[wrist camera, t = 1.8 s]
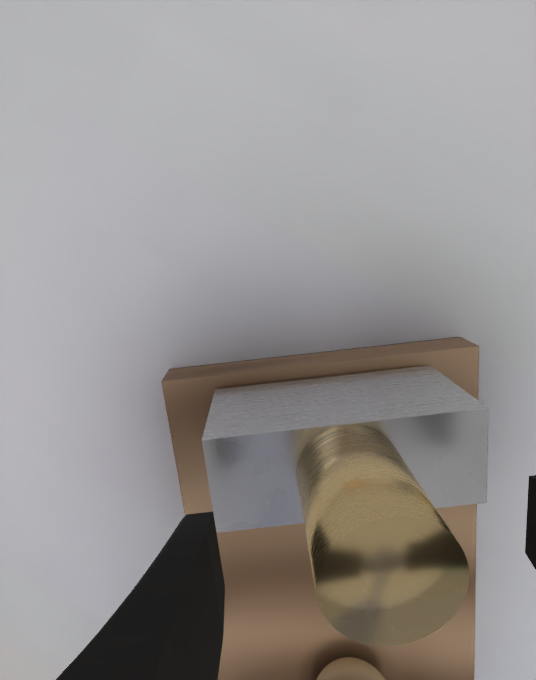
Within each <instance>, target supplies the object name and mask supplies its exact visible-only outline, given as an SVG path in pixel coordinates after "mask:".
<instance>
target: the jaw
mask: <svg viewBox="0 0 536 680" xmlns="http://www.w3.org/2000/svg"><path fill="white" fill-rule="evenodd" d="M202 445H203V452H204V458H205V464H206V470H207V477H208V483H209V489H210V496H211V502H212V508H213V514H214V520H215V526H216V533H220V532H229V531H237V530H246V529H255V528H264V527H273V526H282V525H291V524H300V523H304V526H305V532H306V538H307V544H308V550H309V556H310V562H311V568H312V573H313V579H314V585H315V591H316V597H317V602H318V605H319V608H320V610H321V612H322V614H323V616H324V617H325V618H326V620H327V621H328V622H329V623H330V624H331V625H332V626H333V627H334V628H335V629H336V630H337V631H338V632H340V633H341V634H343V635H344V636H346V637H348V638H350V639H352V640H355V641H357V642H361V643H364V644H369V645H375V646H395V645H401V644H406V643H410V642H414V641H416V640H419V639H421V638H424V637H426V636H428V635H430V634H432V633H433V632H435V631H436V630H438V629H439V628H441V627H442V626H443V625H444V624H446V623H447V622H448V621H449V620H450V619H451V618H452V617H453V616H454V614H455V613H456V612H457V610H458V609H459V607H460V606H461V604H462V602H463V600H464V598H465V595H466V593H467V589H468V585H469V566H468V561H467V558H466V556H465V553H464V551H463V549H462V548H461V546H460V544H459V543H458V541H457V540H456V538H455V537H454V535H453V534H452V532H451V531H450V529H449V528H448V526H447V525H446V523H445V522H444V520H443V519H442V517H441V516H440V514H439V513H438V511H437V510H436V508H442V507H451V506H460V505H469V504H478V503H486V502H487V455H488V408H487V407H486V406H485V405H483V404H482V403H481V402H479V401H478V400H477V399H475V398H474V397H473V396H471V395H470V394H469V393H467V392H466V391H464V390H463V389H462V388H460V387H459V386H458V385H456V384H455V383H454V382H452V381H451V380H450V379H448V378H447V377H446V376H444V375H443V374H441V373H440V372H439V371H437V370H436V369H435V368H433V367H432V366H431V365H429V366H420V367H411V368H402V369H393V370H384V371H375V372H366V373H357V374H348V375H339V376H330V377H321V378H312V379H303V380H294V381H285V382H276V383H267V384H258V385H249V386H240V387H231V388H222V389H215V391H214V395H213V399H212V403H211V407H210V410H209V414H208V418H207V422H206V426H205V429H204V433H203V437H202Z"/></svg>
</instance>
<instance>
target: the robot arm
mask: <svg viewBox="0 0 536 680" xmlns="http://www.w3.org/2000/svg"><path fill="white" fill-rule="evenodd" d="M525 553H526V555H527V556H528V558H529V559H530V561H531V563H532V564H533V566H534V568H535V569H536V475H535V476H529V489H528V509H527V529H526V548H525ZM224 606H225V583H224V577H223V570H222V564H221V558H220V551H219V545H218V539H217V533H216V526H215V520H214V514H213V512H204V513H195V514H186V516H185V517H184V518H183V519H182V521H181V522H180V524H179V525H178V526H177V528H176V529H175V531H174V532H173V534H172V535H171V537H170V538H169V540H168V541H167V543H166V544H165V546H164V547H163V549H162V550H161V552H160V553H159V554H158V556H157V557H156V559H155V560H154V562H153V563H152V564H151V566H150V567H149V568H148V570H147V571H146V573H145V574H144V575H143V577H142V578H141V579H140V581H139V582H138V584H137V585H136V586H135V588H134V589H133V590H132V592H131V593H130V594H129V595H128V597H127V598H126V599H125V600H124V602H123V603H122V604H121V605H120V607H119V608H118V609H117V610H116V612H115V613H114V614H113V615H112V617H111V618H110V619H109V620H108V622H107V623H106V624H105V625H104V626H103V628H102V629H101V630H100V631H99V632H98V634H97V635H96V636H95V637H94V638H93V639H92V641H91V642H90V643H89V644H88V645H87V646H86V647H85V649H84V650H83V651H82V652H81V653H80V654H79V655H78V656H77V658H76V659H75V660H74V661H73V662H72V663H71V664H70V665H69V666H68V667H67V668H66V669H65V670H64V671H63V673H62V674H61V675H60V676H59V677H58V678H57V679H56V680H218V673H219V666H220V658H221V651H222V643H223V634H224Z"/></svg>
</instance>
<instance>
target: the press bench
mask: <svg viewBox="0 0 536 680" xmlns="http://www.w3.org/2000/svg"><path fill="white" fill-rule="evenodd" d="M429 365H431V366H432V367H433V368H435V369H436V370H437V371H439V372H440V373H441V374H443V375H444V376H446V377H447V378H448V379H450V380H451V381H452V382H454V383H455V384H456V385H458V386H459V387H460V388H462V389H463V390H464V391H466V392H467V393H469V394H470V395H471V396H473V397H474V398H475V399H477V400H478V370H479V346H477V345H475V344H473V343H471V342H469V341H467V340H465V339H463V338H461V337H455V338H446V339H437V340H428V341H419V342H410V343H401V344H392V345H383V346H374V347H365V348H356V349H347V350H338V351H329V352H320V353H311V354H302V355H293V356H284V357H275V358H266V359H257V360H248V361H239V362H230V363H221V364H212V365H203V366H194V367H185V368H176V369H169V371H168V372H167V374H166V375H165V377H164V378H163V380H162V387H163V393H164V398H165V404H166V409H167V415H168V421H169V426H170V432H171V438H172V443H173V449H174V455H175V460H176V466H177V472H178V477H179V483H180V488H181V494H182V500H183V505H184V511H185V516H186V514H195V513H204V512H213V508H212V502H211V496H210V489H209V483H208V477H207V470H206V464H205V458H204V452H203V445H202V437H203V433H204V429H205V426H206V422H207V418H208V414H209V410H210V407H211V403H212V399H213V395H214V391H215V389H222V388H231V387H240V386H249V385H258V384H267V383H276V382H285V381H294V380H303V379H312V378H321V377H330V376H339V375H348V374H357V373H366V372H375V371H384V370H393V369H402V368H411V367H420V366H429ZM476 508H477V504H469V505H460V506H451V507H442V508H436V510H437V511H438V513H439V514H440V516H441V517H442V519H443V520H444V522H445V523H446V525H447V526H448V528H449V529H450V531H451V532H452V534H453V535H454V537H455V538H456V540H457V541H458V543H459V544H460V546H461V548H462V549H463V551H464V553H465V556H466V558H467V561H468V566H469V585H468V589H467V593H466V595H465V598H464V600H463V602H462V604H461V606H460V607H459V609H458V610H457V612H456V613H455V614H454V616H453V617H452V618H451V619H450V620H449V621H448V622H447V623H446V624H444V625H443V626H442V627H441V628H439V629H438V630H436V631H435V632H433V633H432V634H430V635H428V636H426V637H424V638H421V639H419V640H416V641H414V642H410V643H406V644H401V645H395V646H375V645H369V644H364V643H361V642H357V641H355V640H352V639H350V638H348V637H346V636H344V635H343V634H341V633H340V632H338V631H337V630H336V629H335V628H334V627H333V626H332V625H331V624H330V623H329V622H328V621H327V620H326V618H325V617H324V616H323V614H322V612H321V610H320V608H319V605H318V602H317V597H316V591H315V585H314V579H313V573H312V568H311V562H310V556H309V550H308V544H307V538H306V532H305V526H304V523H300V524H291V525H282V526H273V527H264V528H255V529H246V530H237V531H229V532H220V533H217V539H218V545H219V551H220V558H221V564H222V570H223V577H224V583H225V606H224V634H223V643H222V651H221V658H220V666H219V673H218V680H474V647H475V578H476Z"/></svg>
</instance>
